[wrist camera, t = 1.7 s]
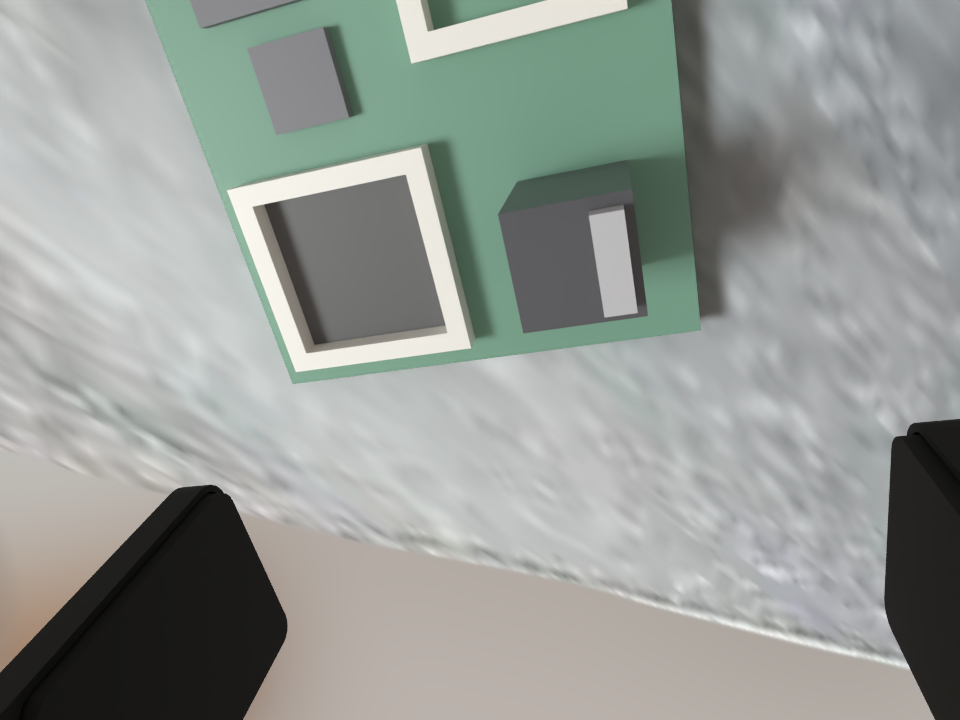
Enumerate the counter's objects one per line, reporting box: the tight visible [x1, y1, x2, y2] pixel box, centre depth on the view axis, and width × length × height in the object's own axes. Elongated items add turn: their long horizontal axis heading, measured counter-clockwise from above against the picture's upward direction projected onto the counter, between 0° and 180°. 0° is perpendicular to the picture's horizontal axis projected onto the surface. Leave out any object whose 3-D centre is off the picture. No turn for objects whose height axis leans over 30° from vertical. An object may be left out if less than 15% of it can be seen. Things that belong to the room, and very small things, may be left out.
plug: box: [498, 160, 648, 334], centre depth 22 cm, size 4×4×6 cm
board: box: [145, 0, 701, 384], centre depth 24 cm, size 18×18×2 cm
